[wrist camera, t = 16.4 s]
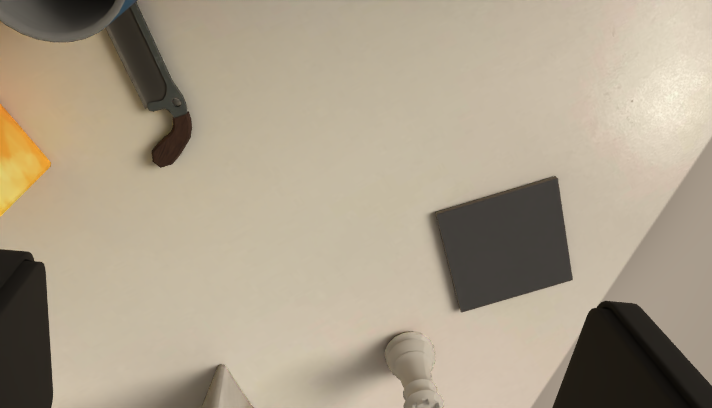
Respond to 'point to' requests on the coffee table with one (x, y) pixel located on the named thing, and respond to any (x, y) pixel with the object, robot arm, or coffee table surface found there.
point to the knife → (151, 80)
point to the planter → (225, 392)
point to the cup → (61, 17)
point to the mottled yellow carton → (17, 161)
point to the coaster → (506, 244)
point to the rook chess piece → (414, 369)
